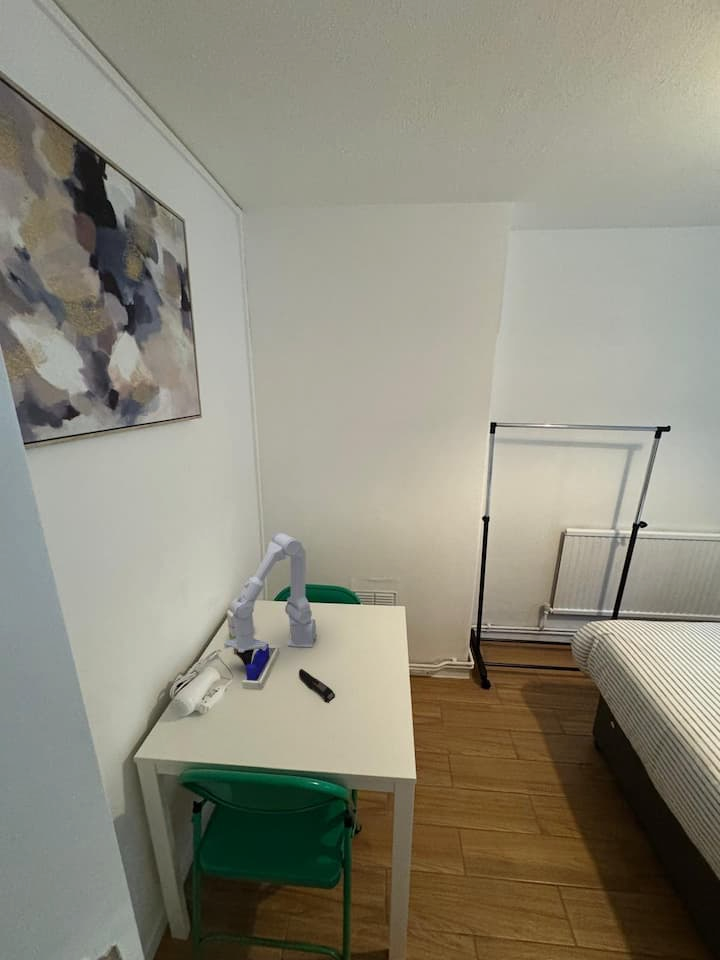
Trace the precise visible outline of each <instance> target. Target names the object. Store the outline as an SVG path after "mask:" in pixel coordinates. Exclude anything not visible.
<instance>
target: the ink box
mask: <svg viewBox="0 0 720 960" xmlns="http://www.w3.org/2000/svg"><path fill="white" fill-rule="evenodd" d="M226 617H227V619H226V620H227V626H228V627H227V628H228V634H229V635H228V636H229V638H230V640H233V639H235V638H236V635H235V627H234V618H233V613H232V612H231V611H230V609H228V610H226ZM251 618H252V627H253V635H254V634H255V632H256V631H255V626H254V617H253V613H252V614H251Z"/></svg>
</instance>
